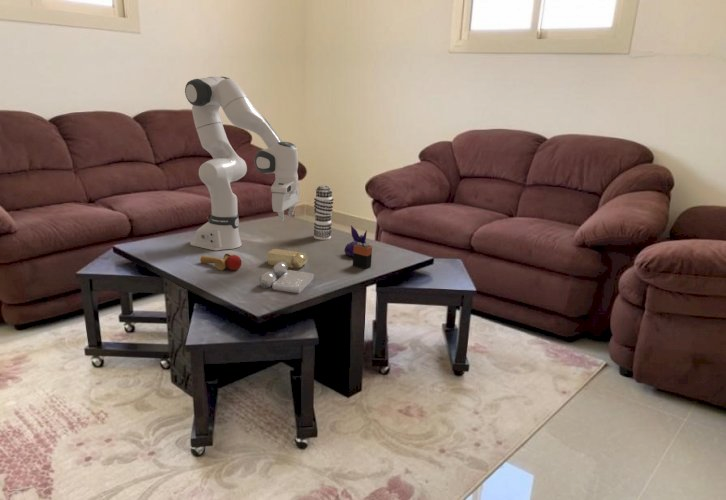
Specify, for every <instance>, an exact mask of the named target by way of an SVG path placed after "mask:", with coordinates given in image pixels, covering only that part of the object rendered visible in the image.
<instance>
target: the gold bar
mask: <svg viewBox="0 0 726 500" xmlns="http://www.w3.org/2000/svg"><path fill="white" fill-rule="evenodd" d="M279 262H285V263H286V264H287V265H288V268H292V269H293V268H294V269H300V268H302V267H303V266H304V265H305V264H306V263H307V262H308V255H307V254H306V253H304V252H302V251H301V252H299V251H295V250H294V251H293V250H285V249H279V248H273V249H271V250H270V251H268V252H267V264H268V265H270V266H275V265H276V264H277V263H279Z"/></svg>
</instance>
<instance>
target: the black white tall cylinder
mask: <svg viewBox="0 0 726 500" xmlns="http://www.w3.org/2000/svg"><path fill="white" fill-rule="evenodd" d="M315 191H316V192H315V193H316V194H315V198H314V202H313V203H314V205H313V207H314V209H313V210H314V215H315V217H314V223H313V225H314V226H313V227H314V228H313V238H314V239H316V240H321V241H322V240H331V238H332V224H333V223H332V215H333V213H332V212H333V208H334V206H333V204H334V202H333V201H334V198H333V191H334V190H333V189H332V188H331V186H327V185H318V186H317V188H315Z"/></svg>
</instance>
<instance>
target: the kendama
mask: <svg viewBox="0 0 726 500" xmlns="http://www.w3.org/2000/svg"><path fill="white" fill-rule="evenodd" d="M200 263H201V264H214V266H215V268H216V269H218V271H223V270H225V269H226V268H228V269H229V270H231V271H237V270H240V268H241V266H242V259H241V257H240V256H238V255H236V254H231V253H230V252H229V253H228V252H227V253H225V254H224V255H223V257H222V258H221V257H219V258H218V257H214V256H205V255H202V256H201V257H200Z"/></svg>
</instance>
